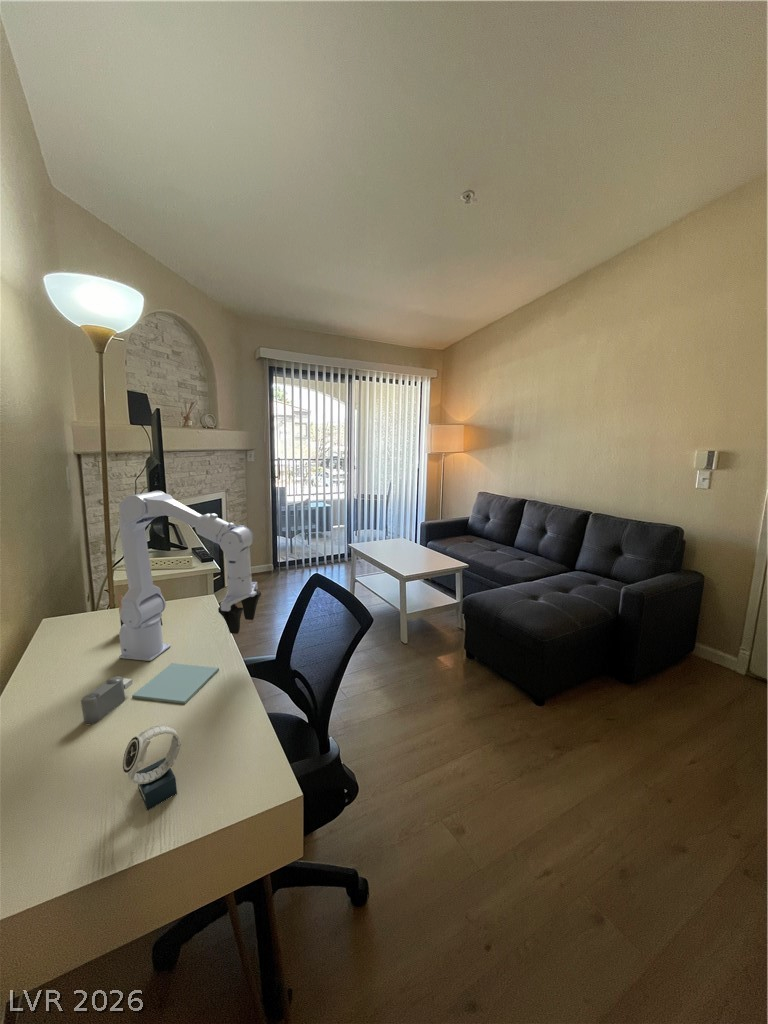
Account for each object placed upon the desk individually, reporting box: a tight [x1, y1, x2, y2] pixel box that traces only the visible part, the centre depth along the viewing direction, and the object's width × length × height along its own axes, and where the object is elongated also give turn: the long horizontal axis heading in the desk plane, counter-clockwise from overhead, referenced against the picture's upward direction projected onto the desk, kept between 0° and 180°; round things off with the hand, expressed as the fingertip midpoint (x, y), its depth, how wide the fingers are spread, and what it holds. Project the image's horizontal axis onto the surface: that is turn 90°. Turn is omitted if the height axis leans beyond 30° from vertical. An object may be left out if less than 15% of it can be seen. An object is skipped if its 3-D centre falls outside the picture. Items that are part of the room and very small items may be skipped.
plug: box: [80, 675, 134, 725], centre depth 84 cm, size 3×11×5 cm, turn 171°
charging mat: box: [132, 662, 220, 705], centre depth 93 cm, size 13×13×1 cm
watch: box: [122, 724, 182, 811], centre depth 63 cm, size 6×8×11 cm
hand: (242, 625), depth 100 cm, fingers open, 7 cm apart
